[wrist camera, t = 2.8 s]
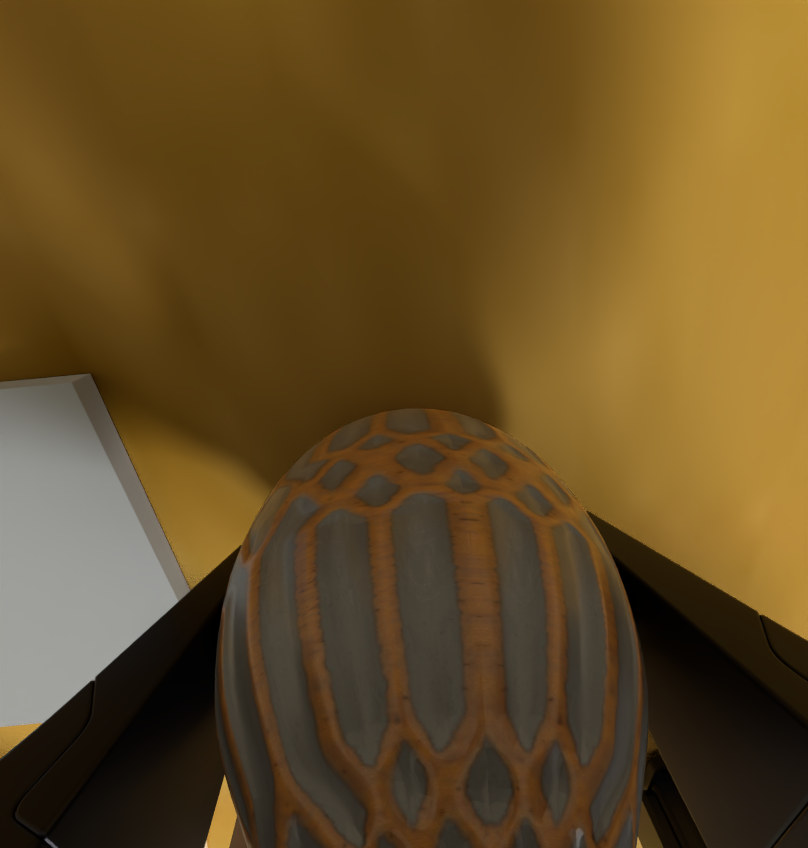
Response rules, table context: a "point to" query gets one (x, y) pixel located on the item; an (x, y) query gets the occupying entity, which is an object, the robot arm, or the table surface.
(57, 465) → the grey mat
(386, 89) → the table surface
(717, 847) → the robot arm
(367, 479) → the vase
